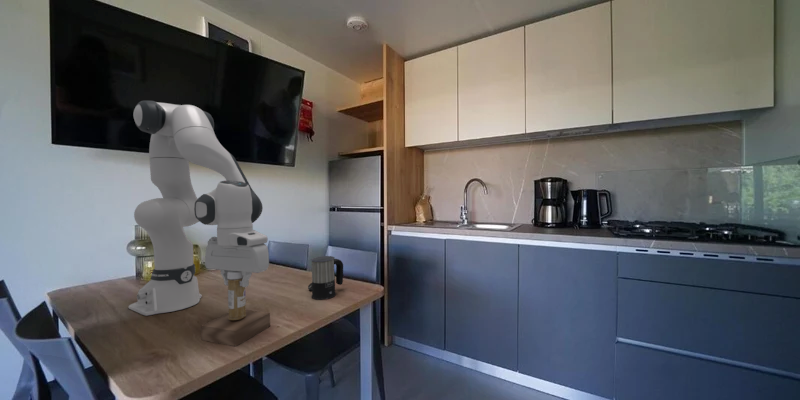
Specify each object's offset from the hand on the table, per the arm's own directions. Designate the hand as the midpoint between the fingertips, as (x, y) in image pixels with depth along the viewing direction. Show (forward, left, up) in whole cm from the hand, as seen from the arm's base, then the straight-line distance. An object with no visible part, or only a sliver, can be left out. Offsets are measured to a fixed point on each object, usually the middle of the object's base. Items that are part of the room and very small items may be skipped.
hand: (236, 285), depth 81 cm
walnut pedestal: (0, 0, -13) cm, 13 cm away
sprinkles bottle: (0, 0, -9) cm, 9 cm away
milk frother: (+3, +36, -14) cm, 39 cm away
